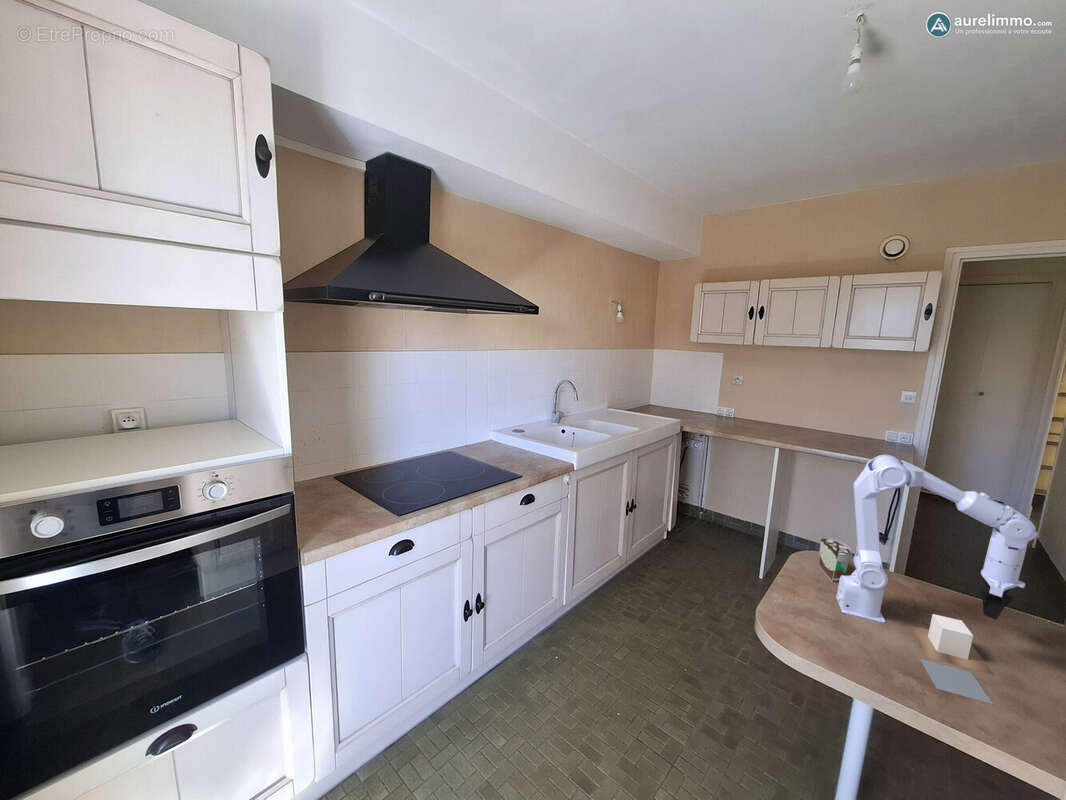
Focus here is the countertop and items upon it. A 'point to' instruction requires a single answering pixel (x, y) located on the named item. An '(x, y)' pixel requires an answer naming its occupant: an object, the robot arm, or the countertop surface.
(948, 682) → the mat
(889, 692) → the countertop surface
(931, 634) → the matte white cube
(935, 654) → the board
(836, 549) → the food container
